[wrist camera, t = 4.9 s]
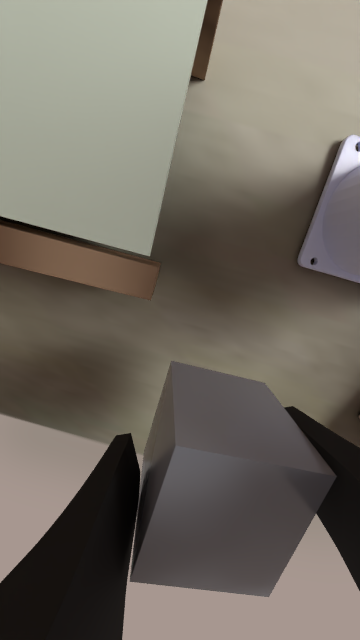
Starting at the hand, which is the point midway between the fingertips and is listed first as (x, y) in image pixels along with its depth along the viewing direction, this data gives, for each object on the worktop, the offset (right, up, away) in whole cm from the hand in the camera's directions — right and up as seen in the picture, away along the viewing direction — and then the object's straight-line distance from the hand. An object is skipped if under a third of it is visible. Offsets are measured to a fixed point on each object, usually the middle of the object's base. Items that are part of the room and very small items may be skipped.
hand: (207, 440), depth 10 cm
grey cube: (0, 0, +1) cm, 1 cm away
